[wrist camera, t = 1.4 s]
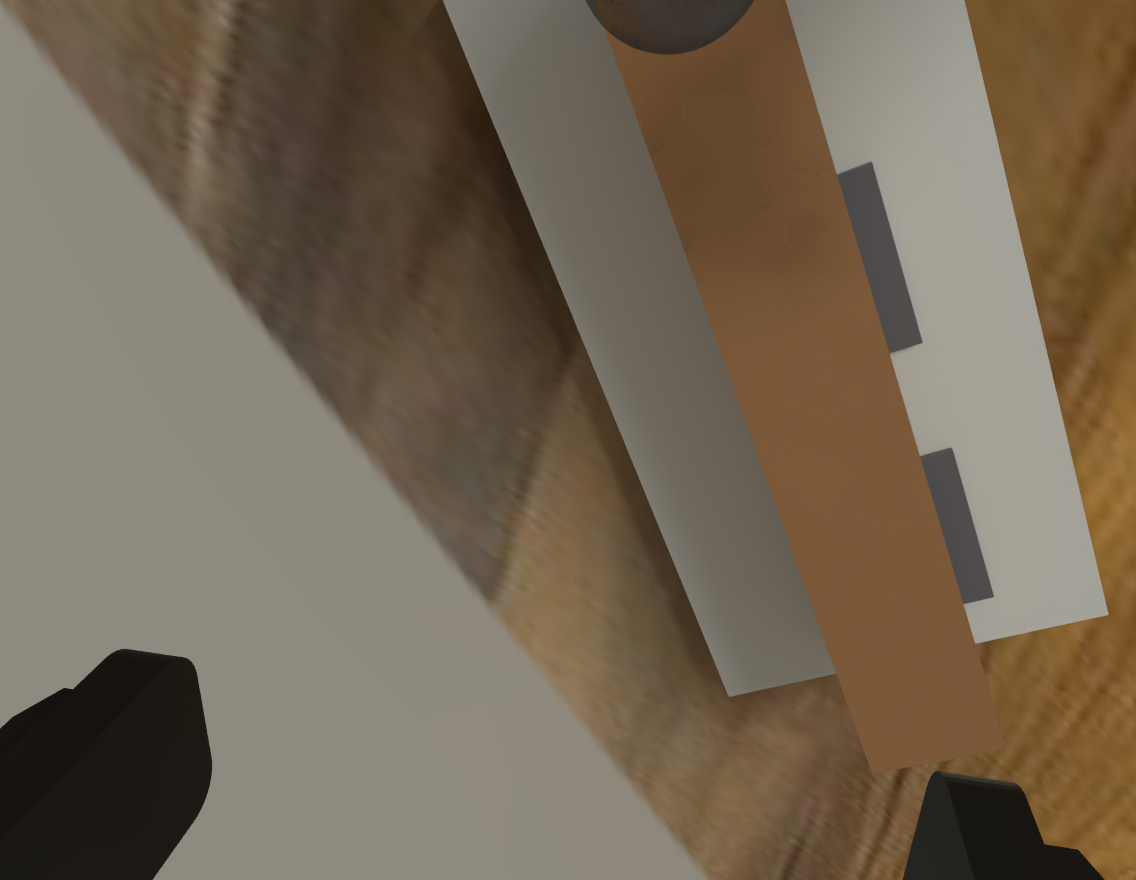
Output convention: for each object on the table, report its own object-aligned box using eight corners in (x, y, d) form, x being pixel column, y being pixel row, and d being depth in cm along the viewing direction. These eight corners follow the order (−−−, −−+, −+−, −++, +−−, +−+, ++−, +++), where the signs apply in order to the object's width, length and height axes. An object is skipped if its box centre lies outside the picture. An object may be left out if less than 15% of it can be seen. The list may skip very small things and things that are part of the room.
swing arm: (732, -156, 23) (734, -209, 18) (971, 648, 31) (1013, 748, 26) (579, -78, 24) (544, -110, 20) (846, 674, 32) (865, 774, 28)
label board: (888, -242, 25) (908, -280, 22) (1087, 584, 33) (1119, 631, 30) (451, -20, 29) (422, -28, 26) (728, 666, 37) (728, 713, 34)
